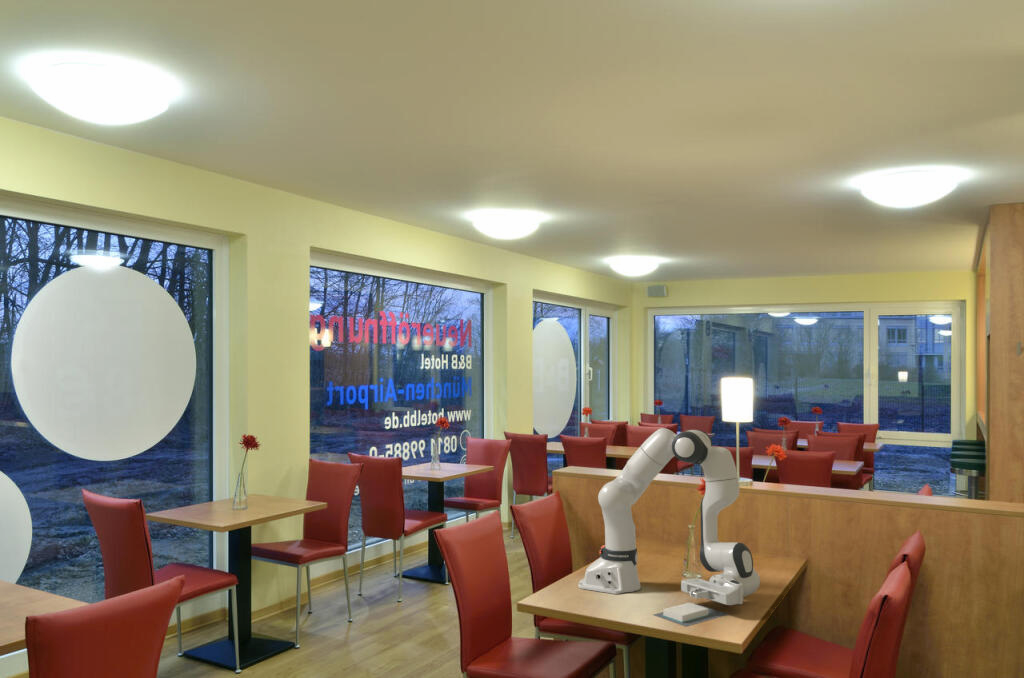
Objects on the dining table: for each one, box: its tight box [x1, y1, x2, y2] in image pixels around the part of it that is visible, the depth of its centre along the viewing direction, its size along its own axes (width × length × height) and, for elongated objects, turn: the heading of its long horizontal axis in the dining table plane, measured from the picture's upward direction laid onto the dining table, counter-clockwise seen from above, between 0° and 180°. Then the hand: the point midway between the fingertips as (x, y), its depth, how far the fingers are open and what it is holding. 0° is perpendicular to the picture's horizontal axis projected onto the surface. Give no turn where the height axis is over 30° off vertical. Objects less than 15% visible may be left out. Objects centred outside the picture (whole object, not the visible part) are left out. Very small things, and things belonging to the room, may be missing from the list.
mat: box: [653, 603, 730, 628], centre depth 242 cm, size 20×14×1 cm
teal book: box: [662, 602, 709, 623], centre depth 241 cm, size 2×8×12 cm
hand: (693, 595), depth 243 cm, fingers closed
